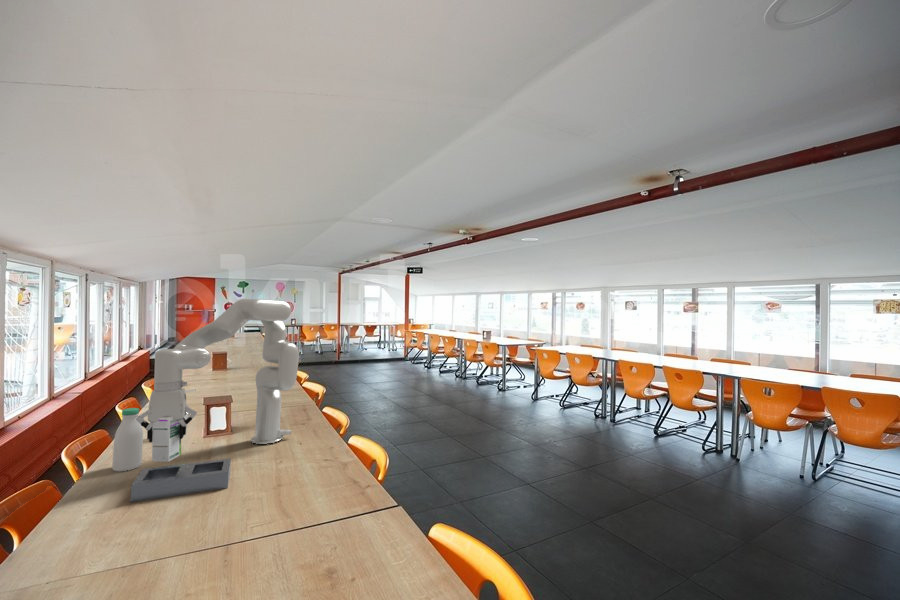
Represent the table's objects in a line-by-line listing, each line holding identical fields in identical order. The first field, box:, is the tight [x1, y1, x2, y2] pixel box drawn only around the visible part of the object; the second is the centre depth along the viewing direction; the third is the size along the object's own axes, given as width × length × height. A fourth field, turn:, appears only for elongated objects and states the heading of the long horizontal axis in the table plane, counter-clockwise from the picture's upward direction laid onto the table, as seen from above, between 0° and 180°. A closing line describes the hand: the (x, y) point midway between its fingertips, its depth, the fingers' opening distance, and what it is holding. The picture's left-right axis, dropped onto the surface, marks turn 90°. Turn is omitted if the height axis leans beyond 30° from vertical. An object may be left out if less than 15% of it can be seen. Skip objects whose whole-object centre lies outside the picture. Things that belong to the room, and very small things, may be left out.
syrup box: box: [151, 417, 182, 463], centre depth 128 cm, size 6×6×14 cm
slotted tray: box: [130, 458, 232, 504], centre depth 119 cm, size 24×12×5 cm, turn 117°
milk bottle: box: [111, 407, 144, 472], centre depth 132 cm, size 8×8×20 cm
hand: (166, 438), depth 128 cm, fingers closed on syrup box, 7 cm apart
